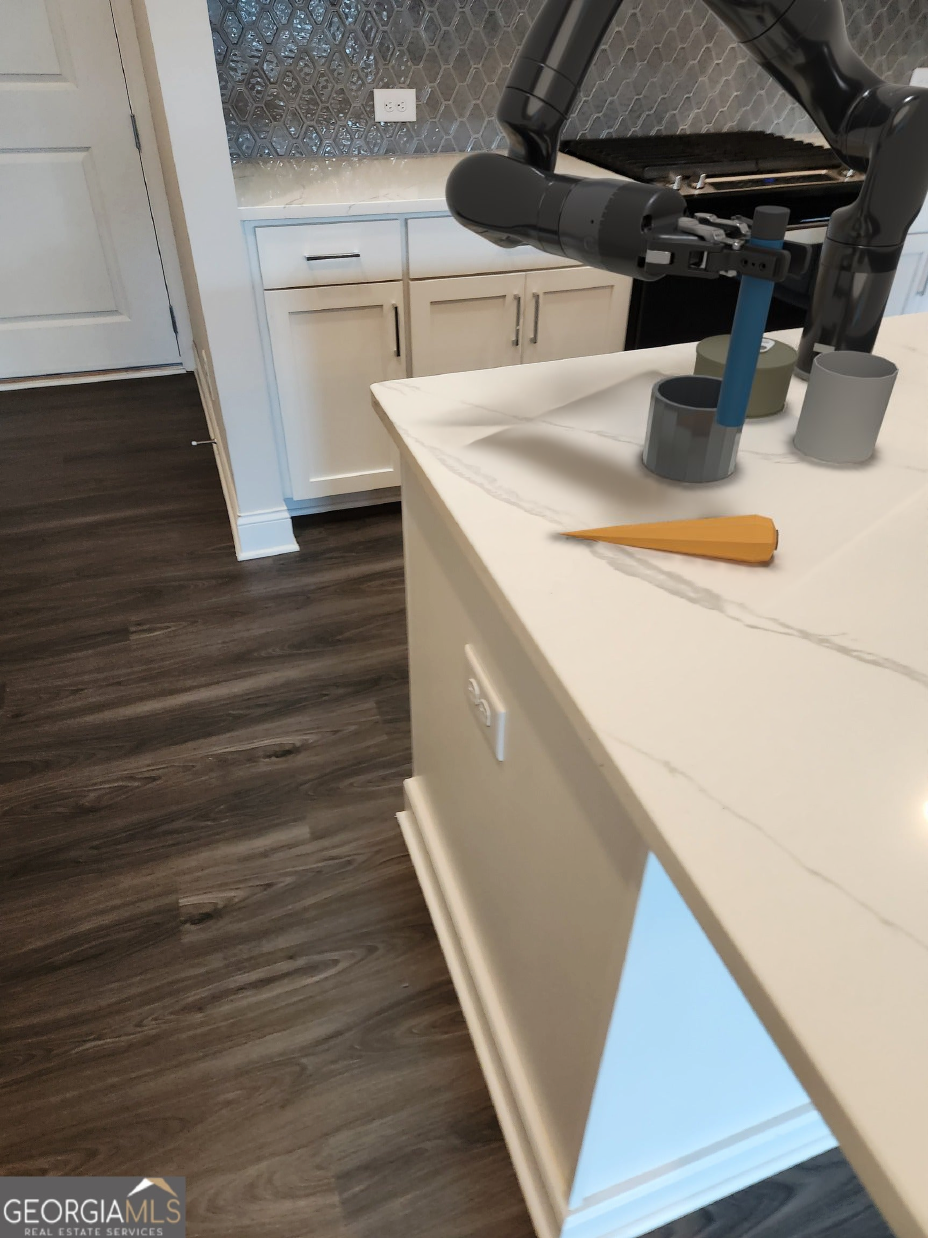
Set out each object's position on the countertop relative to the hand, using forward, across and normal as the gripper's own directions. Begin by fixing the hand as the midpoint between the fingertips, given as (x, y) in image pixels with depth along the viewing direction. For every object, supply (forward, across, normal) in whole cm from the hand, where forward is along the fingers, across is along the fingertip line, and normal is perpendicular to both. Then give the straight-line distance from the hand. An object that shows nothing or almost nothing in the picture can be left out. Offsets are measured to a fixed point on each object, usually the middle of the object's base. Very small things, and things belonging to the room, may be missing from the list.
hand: (796, 263), depth 64 cm
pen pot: (-12, +9, +25) cm, 29 cm away
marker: (-3, 0, +14) cm, 14 cm away
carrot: (-4, -7, +25) cm, 26 cm away
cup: (-3, +24, +25) cm, 35 cm away
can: (-18, +28, +25) cm, 41 cm away
